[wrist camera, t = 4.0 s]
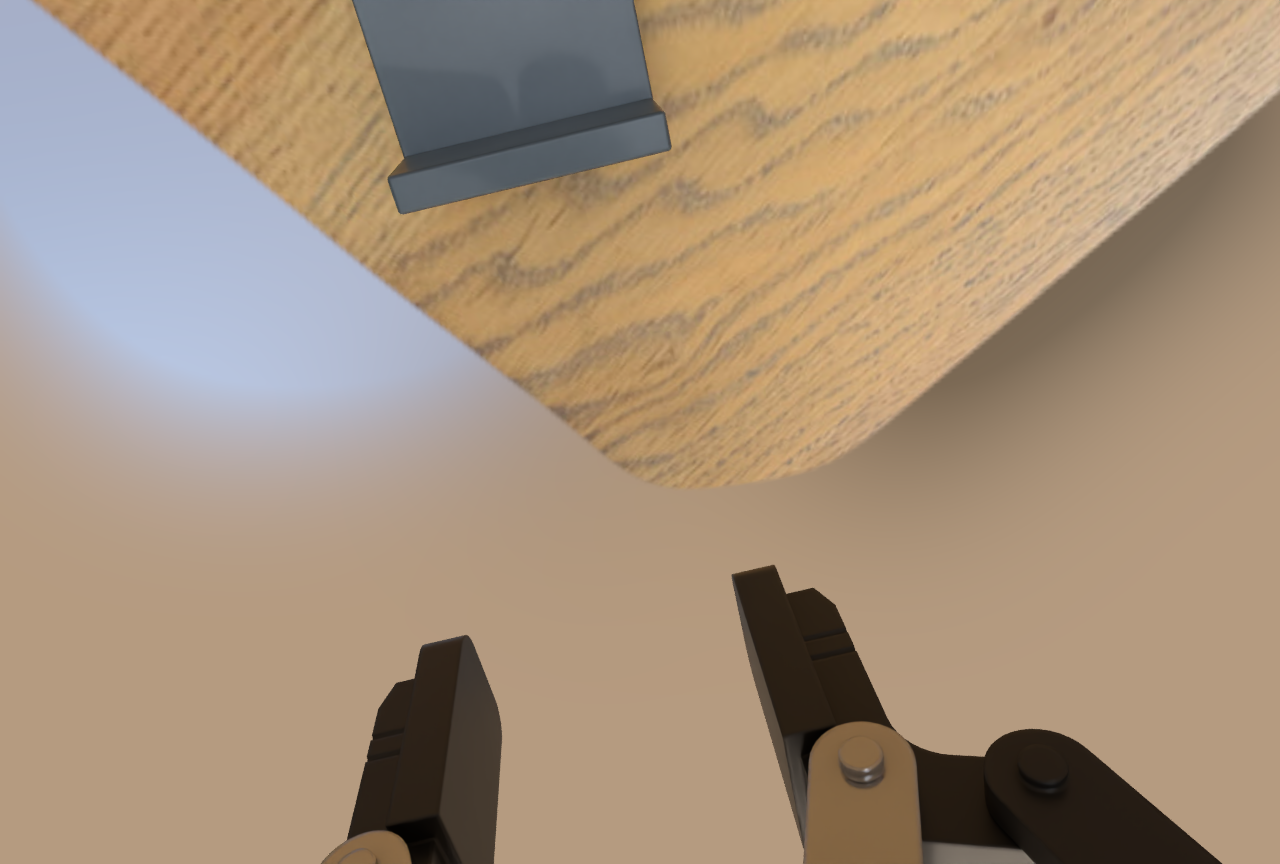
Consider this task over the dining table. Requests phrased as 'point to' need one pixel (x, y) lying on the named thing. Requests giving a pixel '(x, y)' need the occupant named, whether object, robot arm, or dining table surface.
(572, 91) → the chair
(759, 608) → the robot arm
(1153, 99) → the dining table surface
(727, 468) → the dining table surface
